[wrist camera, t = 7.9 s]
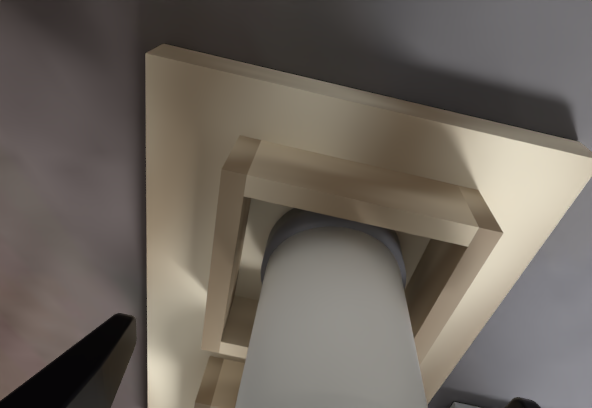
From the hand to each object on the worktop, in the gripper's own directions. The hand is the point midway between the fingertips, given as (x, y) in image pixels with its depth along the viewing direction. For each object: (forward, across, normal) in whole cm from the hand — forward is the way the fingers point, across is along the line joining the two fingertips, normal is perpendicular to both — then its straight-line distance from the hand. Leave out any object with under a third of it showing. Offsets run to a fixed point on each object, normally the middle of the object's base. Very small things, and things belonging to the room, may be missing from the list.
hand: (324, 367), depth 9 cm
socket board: (+5, 0, +5) cm, 7 cm away
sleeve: (+4, 0, 0) cm, 4 cm away
